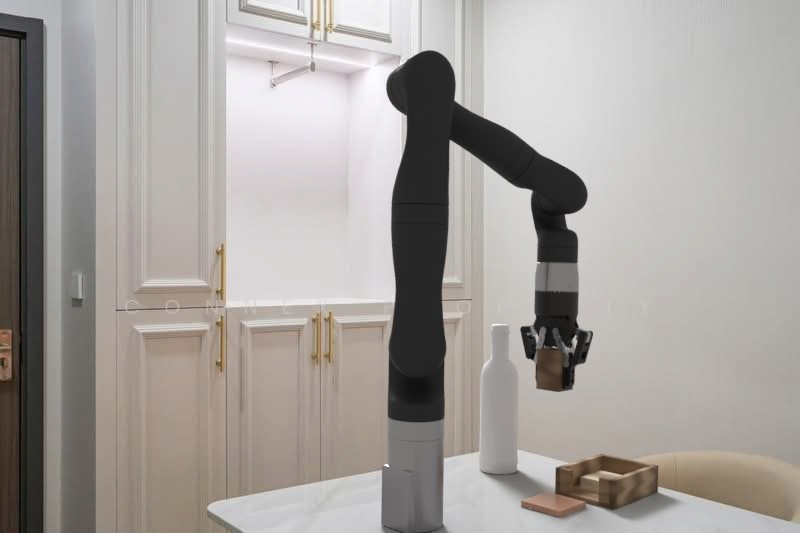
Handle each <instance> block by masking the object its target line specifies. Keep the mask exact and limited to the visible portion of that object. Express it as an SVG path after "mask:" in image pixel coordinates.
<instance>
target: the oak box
mask: <svg viewBox="0 0 800 533" xmlns="http://www.w3.org/2000/svg"><path fill="white" fill-rule="evenodd" d="M554 480H555V485H554V486H555V487H554V488H555V489H554V490H555V491H554V492H555V493H554V494H558V495H562V496H565V497H569V498H573V499H577V500H581V501H585V502H586V504H590V505H592V506H593V505H594V506H598V507H602V508H604V509H609V510H613V511H615V510H617V509H619V508H623V507H625V506H627V505H630V504H632V503H635V502H638V501H639V500H642V499H645V498H647V497H649V496H651V495H655V494H656V493H658V492H659V465H658V464H657V465H656V464H652V463H647V462H644V461H643V462H642V461H638V460H633V459H629V458H623V457H619V456H614V455H610V454H609V455H608V454H603V453H599V454H596V455H593V456H590V457H586V458H582V459H579V460H576V461H573V462H569V463H566V464H563V465H559V466H555V478H554Z"/></svg>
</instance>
